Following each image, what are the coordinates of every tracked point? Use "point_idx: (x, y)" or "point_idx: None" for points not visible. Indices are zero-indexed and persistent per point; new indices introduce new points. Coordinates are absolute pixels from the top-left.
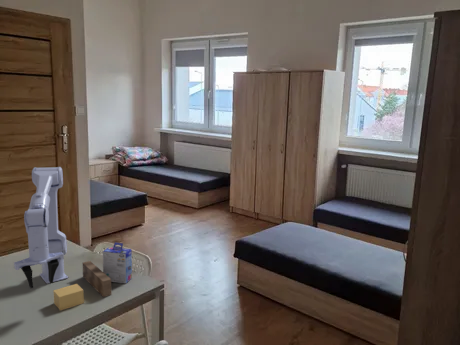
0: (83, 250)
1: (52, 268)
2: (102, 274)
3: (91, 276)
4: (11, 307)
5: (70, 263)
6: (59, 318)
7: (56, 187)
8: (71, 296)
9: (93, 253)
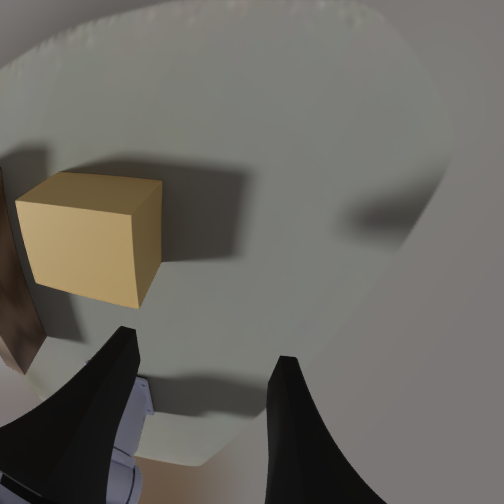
0: None
1: (56, 445)
2: None
3: (3, 299)
4: (305, 340)
5: None
6: (199, 105)
7: None
8: (75, 198)
9: (33, 389)
